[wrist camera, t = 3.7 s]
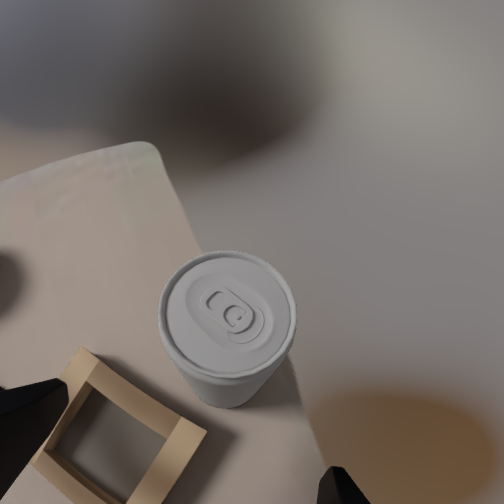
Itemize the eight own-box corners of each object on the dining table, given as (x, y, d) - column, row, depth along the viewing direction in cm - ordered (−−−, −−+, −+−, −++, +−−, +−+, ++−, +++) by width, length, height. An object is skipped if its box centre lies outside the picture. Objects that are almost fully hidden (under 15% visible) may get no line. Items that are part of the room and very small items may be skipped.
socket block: (140, 535, 12) (133, 543, 10) (31, 449, 14) (16, 448, 12) (208, 430, 17) (207, 431, 16) (92, 353, 19) (81, 345, 18)
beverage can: (228, 423, 18) (238, 414, 8) (174, 377, 19) (124, 312, 9) (273, 371, 20) (328, 300, 10) (220, 329, 21) (221, 224, 12)
